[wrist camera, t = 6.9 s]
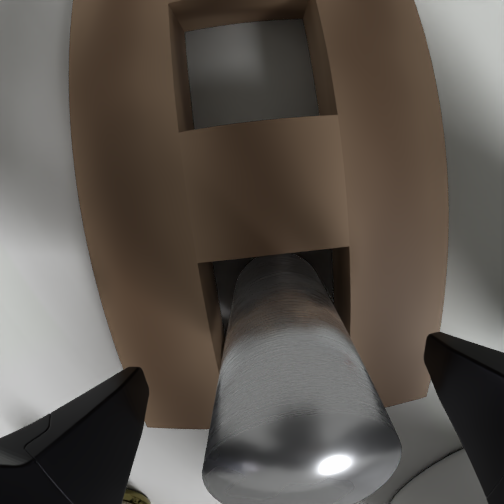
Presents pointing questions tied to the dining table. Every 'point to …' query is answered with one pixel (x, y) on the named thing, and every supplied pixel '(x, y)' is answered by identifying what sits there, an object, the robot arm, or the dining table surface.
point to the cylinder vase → (444, 484)
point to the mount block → (258, 187)
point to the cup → (134, 498)
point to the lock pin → (294, 398)
